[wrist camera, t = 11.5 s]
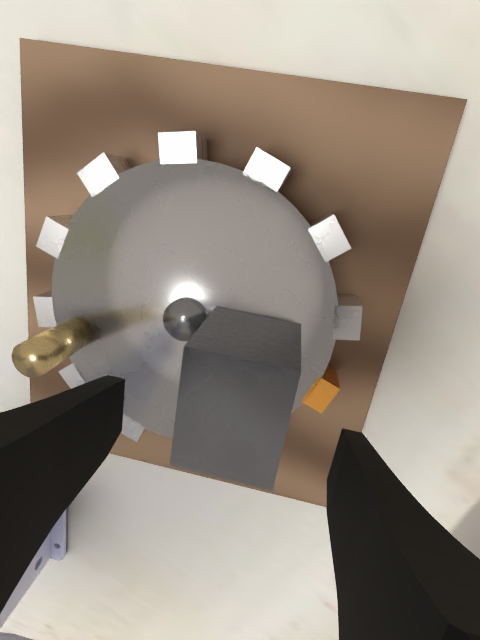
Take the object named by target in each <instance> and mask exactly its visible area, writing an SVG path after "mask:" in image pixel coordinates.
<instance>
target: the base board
mask: <svg viewBox="0 0 480 640" xmlns="http://www.w3.org/2000/svg"><path fill="white" fill-rule="evenodd" d="M20 65H21V98H22V131H23V164H24V197H25V230H26V264H27V297H28V330H29V339H30V338H32V337H34V336H36V335H38V334H40V333H42V332H44V331H46V330H48V329H50V328H52V327H38V321H37V316H36V311H35V305H34V300H33V296H36V295H39V294H42V293H44V292H47V291H50V290H52V274H53V267H54V260H55V257H53V256H52V255H50V254H48V253H47V252H45V251H43V250H42V249H40V248H38V247H36V245H37V242H38V239H39V236H40V233H41V230H42V227H43V224H44V221H45V218H46V216H58V215H74V214H75V212H76V210H77V209H78V208H79V207H80V206H81V205H82V203H83V202H84V201H85V200H86V199H87V198H88V196H89V195H91V194H90V193H89V191H88V190H87V188H86V187H85V185H84V183H83V182H82V180H81V179H80V177H79V176H78V174H77V172H79V171H80V170H81V169H83V168H84V167H85V166H87V165H88V164H89V163H90V162H92V161H93V160H94V159H96V158H97V157H98V156H100V155H101V154H102V153H103V152H105V153H109V154H113V155H117V156H121V157H125V159H126V161H127V162H128V164H129V165H130V167H131V168H133V167H136V166H138V165H142V164H146V163H150V162H153V161H157V160H160V153H159V139H158V133H163V132H186V131H196V132H198V133H199V134H201V135H202V136H204V137H205V138H207V149H208V161H211V162H217V163H221V164H224V165H227V166H230V167H233V168H236V169H239V170H242V171H244V170H245V168H246V166H247V164H248V163H249V161H250V159H251V157H252V155H253V153H254V151H255V149H256V147H257V148H259V149H261V150H262V151H264V152H266V153H267V154H269V155H271V156H272V157H274V158H276V159H277V160H279V161H281V162H282V163H284V164H286V165H287V166H289V167H291V170H292V172H291V173H290V175H289V177H288V179H287V180H286V182H285V184H284V186H283V188H282V189H281V191H280V193H281V194H282V195H284V196H285V197H286V198H287V199H288V200H289V201H290V202H291V203H292V204H293V205H294V206H295V207H296V208H297V209H298V210H299V211H300V212H301V214H302V215H303V216H304V217H305V219H306V220H307V221H308V222H309V224H312V223H314V222H315V221H317V220H319V219H321V218H322V217H324V216H326V215H327V214H329V213H332V214H334V215H335V217H336V219H337V221H338V223H339V225H340V227H341V229H342V231H343V233H344V235H345V237H346V239H347V241H348V243H349V245H350V246H351V249H350V250H348V251H346V252H344V253H342V254H340V255H338V256H336V257H335V258H333V259H331V260H329V263H330V266H331V270H332V273H333V277H334V280H335V285H336V292H337V295H357V297H358V299H359V301H360V302H361V304H362V306H363V310H362V320H361V331H360V341H359V340H336V341H335V345H334V348H333V352H332V355H331V358H330V361H329V363H328V365H327V366H329V367H331V368H332V369H334V370H336V371H337V375H338V380H339V385H340V390H339V392H338V393H337V394H336V396H335V397H334V398H333V400H332V401H331V402H330V403H329V405H328V406H327V407H326V409H325V410H324V411H323V412H322V414H321V413H320V412H318V411H316V410H315V409H313V408H311V407H309V406H308V405H306V404H304V403H303V404H302V405H301V406H299V407H298V408H297V409H296V410H295V411H294V412H293V413H291V416H290V421H289V425H288V429H287V433H286V437H285V441H284V445H283V450H282V454H281V458H280V462H279V466H278V470H277V475H276V479H275V483H274V487H273V491H270V490H266V489H262V488H258V487H254V486H250V485H246V484H242V483H238V482H234V481H230V480H226V479H222V478H218V477H214V476H210V475H206V474H202V473H198V472H194V471H190V470H186V469H182V468H178V467H174V466H170V456H171V448H172V440H173V438H169V437H165V436H162V435H159V434H156V433H154V432H151V431H148V430H146V429H145V431H144V432H143V434H142V435H141V437H140V438H139V440H138V441H137V442H136V441H134V440H132V439H130V438H129V437H127V436H125V435H123V434H122V433H120V435H119V437H118V438H117V440H116V442H115V444H114V446H113V447H112V449H111V451H110V452H109V453H111V454H115V455H119V456H123V457H127V458H131V459H135V460H139V461H143V462H147V463H151V464H155V465H159V466H163V467H167V468H171V469H175V470H179V471H183V472H187V473H191V474H195V475H199V476H203V477H207V478H211V479H215V480H220V481H224V482H228V483H232V484H236V485H240V486H244V487H248V488H252V489H256V490H260V491H264V492H268V493H272V494H276V495H280V496H284V497H288V498H292V499H296V500H300V501H304V502H308V503H312V504H316V505H320V506H324V507H327V477H328V474H329V470H330V467H331V464H332V460H333V457H334V454H335V450H336V447H337V443H338V440H339V437H340V433H341V430H342V428H344V429H348V430H353V431H357V432H362V429H363V425H364V422H365V419H366V416H367V413H368V410H369V407H370V403H371V400H372V397H373V394H374V391H375V388H376V385H377V381H378V378H379V375H380V372H381V369H382V366H383V363H384V359H385V356H386V353H387V350H388V347H389V344H390V341H391V337H392V334H393V331H394V328H395V325H396V322H397V319H398V315H399V312H400V309H401V306H402V303H403V300H404V297H405V293H406V290H407V287H408V284H409V281H410V278H411V275H412V272H413V268H414V265H415V262H416V259H417V256H418V253H419V250H420V246H421V243H422V240H423V237H424V234H425V231H426V228H427V224H428V221H429V218H430V215H431V212H432V209H433V206H434V202H435V199H436V196H437V193H438V190H439V187H440V184H441V180H442V177H443V174H444V171H445V168H446V165H447V162H448V158H449V155H450V152H451V149H452V146H453V143H454V140H455V136H456V133H457V130H458V127H459V124H460V121H461V118H462V114H463V111H464V108H465V105H466V102H467V99H460V98H453V97H445V96H438V95H431V94H424V93H416V92H409V91H402V90H394V89H387V88H380V87H373V86H365V85H358V84H351V83H344V82H336V81H329V80H322V79H315V78H307V77H300V76H293V75H286V74H278V73H271V72H264V71H256V70H249V69H242V68H235V67H227V66H220V65H213V64H206V63H198V62H191V61H184V60H177V59H169V58H162V57H155V56H147V55H140V54H133V53H126V52H118V51H111V50H104V49H97V48H89V47H82V46H75V45H68V44H60V43H53V42H46V41H39V40H31V39H24V38H20ZM70 363H71V360H70V358H69V357H68V358H67V359H65V360H64V361H63V362H61V363H60V364H58V365H57V366H55V367H54V368H52V369H51V370H49V371H48V372H46V373H45V374H43V375H42V376H40V377H37V378H30V396H31V403H33V402H36V401H39V400H42V399H45V398H48V397H51V396H53V395H56V394H59V393H61V392H64V391H66V390H69V389H71V388H70V387H69V386H68V384H67V383H66V382H65V380H64V379H63V377H62V376H61V375H60V373H59V372H58V371H60V370H61V369H63V368H64V367H66V366H67V365H68V364H70Z"/></svg>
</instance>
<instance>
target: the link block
mask: <svg viewBox="0 0 480 640" xmlns="http://www.w3.org/2000/svg"><path fill="white" fill-rule="evenodd" d="M300 375H301V324H300V323H295V322H290V321H285V320H280V319H275V318H270V317H266V316H261V315H256V314H251V313H246V312H241V311H236V310H231V309H226V308H221V307H215V308H214V309H213V311H212V312H211V313H210V314H209V316H208V317H207V318H206V319H205V321H204V322H203V323H202V324H201V326H200V327H199V328H198V329H197V331H196V332H195V333H194V334H193V336H192V337H191V338H190V339H189V340H188V342H187V343H186V344H185V345H184V349H183V357H182V366H181V374H180V382H179V390H178V399H177V407H176V415H175V423H174V432H173V440H172V448H171V456H170V466H174V467H178V468H182V469H186V470H190V471H194V472H198V473H202V474H206V475H210V476H214V477H218V478H222V479H226V480H230V481H234V482H238V483H242V484H246V485H250V486H254V487H258V488H262V489H266V490H270V491H273V487H274V483H275V479H276V475H277V470H278V466H279V462H280V458H281V454H282V450H283V445H284V441H285V437H286V433H287V429H288V425H289V421H290V416H291V412H292V408H293V404H294V400H295V396H296V391H297V387H298V383H299V379H300Z"/></svg>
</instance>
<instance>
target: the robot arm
mask: <svg viewBox="0 0 480 640" xmlns="http://www.w3.org/2000/svg"><path fill="white" fill-rule="evenodd" d="M124 392H125V379H124V378H119V377H115V376H110V375H107V376H103V377H100V378H97V379H95V380H92V381H89V382H87V383H84V384H82V385H79V386H77V387H74V388H71V389H69V390H66V391H64V392H61V393H59V394H56V395H53V396H51V397H48V398H45V399H42V400H39V401H36V402H33V403H30V404H27V405H24V406H22V407H18V408H15V409H12V410H8V411H5V412H1V413H0V629H1V627H2V626H3V624H4V623H5V621H6V620H7V619H8V617H9V616H10V614H11V613H12V611H13V610H14V609H15V607H16V606H17V604H18V603H19V601H20V600H21V599H22V597H23V596H24V594H25V593H26V591H27V590H28V589H29V587H30V586H31V584H32V583H33V582H34V580H35V579H36V577H37V576H38V574H39V573H40V572H41V570H42V569H43V567H44V566H45V564H46V563H47V562H48V560H49V559H50V558H52V559H55V560H62V559H63V558H64V556H65V555H66V509H67V507H68V506H69V505H70V504H71V502H72V501H73V500H74V498H75V497H76V496H77V495H78V493H79V492H80V491H81V489H82V488H83V487H84V486H85V484H86V483H87V482H88V481H89V479H90V478H91V477H92V475H93V474H94V473H95V471H96V470H97V469H98V468H99V466H100V465H101V464H102V462H103V461H104V460H105V458H106V457H107V456H108V454H109V452H110V451H111V449H112V447H113V446H114V444H115V442H116V440H117V438H118V437H119V435H120V433H121V431H122V422H123V407H124ZM327 517H328V526H329V534H330V541H331V549H332V557H333V564H334V572H335V580H336V588H337V599H338V621H339V640H480V559H479V558H477V557H476V556H475V555H474V554H473V553H472V552H470V551H469V550H468V549H467V548H465V547H464V546H463V545H462V544H461V543H460V542H459V541H458V540H457V539H455V538H454V537H453V536H452V535H451V534H450V533H449V532H448V531H447V530H446V529H445V528H444V527H443V526H442V525H441V524H440V523H439V522H438V521H437V520H435V519H434V518H433V517H432V516H431V515H430V514H429V513H428V512H427V511H426V509H425V508H424V507H423V506H422V505H421V504H420V503H419V502H418V501H417V500H416V499H415V498H414V496H413V495H412V494H411V493H410V492H409V491H408V490H407V489H406V487H405V486H404V485H403V484H402V483H401V482H400V480H399V479H398V478H397V477H396V476H395V474H394V473H393V472H392V471H391V469H390V468H389V467H388V466H387V464H386V463H385V462H384V461H383V459H382V458H381V457H380V455H379V454H378V453H377V451H376V450H375V449H374V448H373V446H372V445H371V444H370V442H369V441H368V440H367V438H366V437H365V436H364V435H363V434H362V432H357V431H353V430H348V429H344V428H342V430H341V433H340V437H339V440H338V443H337V447H336V450H335V454H334V457H333V460H332V464H331V467H330V470H329V474H328V477H327ZM0 640H32V639H29V638H25V637H22V636H19V635H16V634H10V633H1V632H0Z"/></svg>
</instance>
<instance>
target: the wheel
mask: <svg viewBox="0 0 480 640" xmlns="http://www.w3.org/2000/svg"><path fill="white" fill-rule="evenodd" d="M158 139H159V153H160V160H157V161H153V162H150V163H146V164H142V165H138V166H136V167H133V168H131V167H130V165H129V164H128V162H127V161H126V159H125V157H121V156H117V155H113V154H109V153H105V152H103V153H102V154H101V155H100V156H98V157H97V158H96V159H94V160H93V161H92V162H90V163H89V164H88V165H87V166H85V167H84V168H83V169H81V170H80V171H79V172H77V174H78V176H79V177H80V179H81V180H82V182H83V183H84V185H85V187H86V188H87V190H88V191H89V193H90V194H91V195H89V196H88V198H87V199H86V200H85V201H84V202H83V203H82V205H81V206H80V207H79V208H78V209H77V210H76V212H75V214H74V215H58V216H46V218H45V221H44V224H43V227H42V230H41V233H40V236H39V239H38V242H37V245H36V247H38V248H40V249H42V250H43V251H45V252H47V253H48V254H50V255H52V256H53V257H55V260H54V267H53V274H52V290H50V291H47V292H44V293H42V294H39V295H36V296H33V300H34V305H35V311H36V316H37V321H38V327H52V328H50V329H48V330H46V331H44V332H42V333H40V334H38V335H36V336H34V337H32V338H30V339H28V340H26V341H24V342H22V343H20V344H19V345H17V346H16V347H15V348H14V349H13V352H12V360H13V363H14V365H15V367H16V369H17V370H18V371H19V372H20V373H22V374H23V375H25V376H27V377H30V378H37V377H40V376H42V375H43V374H45V373H46V372H48V371H49V370H51V369H52V368H54V367H55V366H57V365H58V364H60V363H61V362H63V361H64V360H65V359H67V358H68V357H69V358H70V360H71V363H70V364H68V365H67V366H66V367H64V368H63V369H61V370H60V371H58V372H59V373H60V375H61V376H62V377H63V379H64V380H65V382H66V383H67V384H68V386H69V387H70V388H74V387H77V386H79V385H82V384H84V383H87V382H89V381H92V380H95V379H97V378H100V377H103V376H107V375H110V376H115V377H119V378H124V379H125V392H124V407H123V422H122V431H121V433H122V434H123V435H125V436H127V437H129V438H130V439H132V440H134V441H136V442H137V441H138V440H139V438H140V437H141V435H142V434H143V432H144V431H145V429H146V430H148V431H151V432H154V433H156V434H159V435H162V436H165V437H169V438H173V432H174V423H175V415H176V407H177V399H178V390H179V382H180V374H181V366H182V357H183V349H184V345H185V344H186V343H187V342H188V340H189V339H190V338H191V337H192V336H193V334H194V333H195V332H196V331H197V329H198V328H199V327H200V326H201V324H202V323H203V322H204V321H205V319H206V318H207V317H208V316H209V314H210V313H211V312H212V311H213V309H214V308H215V307H221V308H226V309H231V310H236V311H241V312H246V313H251V314H256V315H261V316H266V317H270V318H275V319H280V320H285V321H290V322H295V323H300V324H301V375H300V379H299V383H298V387H297V391H296V396H295V400H294V404H293V408H292V412H291V413H293V412H294V411H295V410H296V409H297V408H298V407H299V406H301V405H302V404H303V403H304V404H306V405H308V406H309V407H311V408H313V409H315V410H316V411H318V412H320V413H321V414H322V412H323V411H324V410H325V409H326V407H327V406H328V405H329V403H330V402H331V401H332V400H333V398H334V397H335V396H336V394H337V393H338V392H339V390H340V385H339V380H338V375H337V371H336V370H334V369H332V368H331V367H329V366H327V365H328V363H329V361H330V358H331V355H332V352H333V348H334V345H335V341H336V340H359V341H360V331H361V320H362V310H363V306H362V304H361V302H360V301H359V299H358V297H357V295H337V292H336V285H335V280H334V277H333V273H332V270H331V266H330V263H329V260H331V259H333V258H335V257H336V256H338V255H340V254H342V253H344V252H346V251H348V250H350V249H351V246H350V245H349V243H348V241H347V239H346V237H345V235H344V233H343V231H342V229H341V227H340V225H339V223H338V221H337V219H336V217H335V215H334V214H332V213H329V214H327V215H326V216H324V217H322V218H321V219H319V220H317V221H315V222H314V223H312V224H309V222H308V221H307V220H306V219H305V217H304V216H303V215H302V214H301V212H300V211H299V210H298V209H297V208H296V207H295V206H294V205H293V204H292V203H291V202H290V201H289V200H288V199H287V198H286V197H285V196H284V195H282V194H281V193H280V191H281V189H282V188H283V186H284V184H285V182H286V180H287V179H288V177H289V175H290V173H291V172H292V170H291V167H289V166H287V165H286V164H284V163H282V162H281V161H279V160H277V159H276V158H274V157H272V156H271V155H269V154H267V153H266V152H264V151H262V150H261V149H259V148H257V147H256V149H255V151H254V153H253V155H252V157H251V159H250V161H249V163H248V164H247V166H246V168H245V170H244V171H242V170H239V169H236V168H233V167H230V166H227V165H224V164H221V163H217V162H211V161H208V149H207V138H205V137H204V136H202V135H201V134H199V133H198V132H196V131H186V132H163V133H158Z"/></svg>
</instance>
